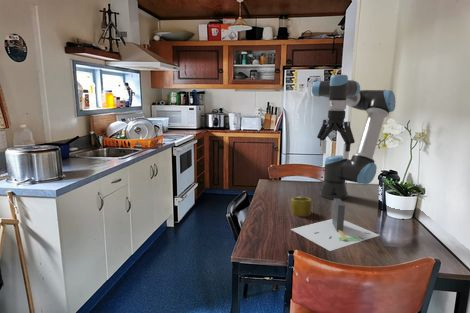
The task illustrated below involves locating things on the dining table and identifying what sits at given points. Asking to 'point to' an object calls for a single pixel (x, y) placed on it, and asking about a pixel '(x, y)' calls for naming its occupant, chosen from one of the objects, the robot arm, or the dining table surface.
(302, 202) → the mug
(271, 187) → the dining table surface
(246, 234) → the dining table surface
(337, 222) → the gray bar
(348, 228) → the board
